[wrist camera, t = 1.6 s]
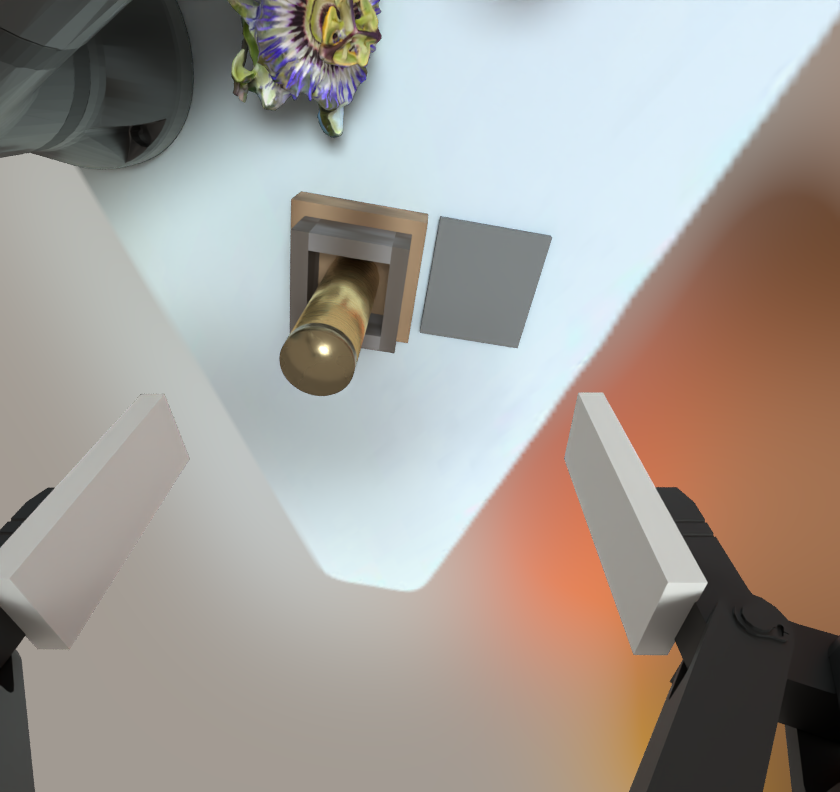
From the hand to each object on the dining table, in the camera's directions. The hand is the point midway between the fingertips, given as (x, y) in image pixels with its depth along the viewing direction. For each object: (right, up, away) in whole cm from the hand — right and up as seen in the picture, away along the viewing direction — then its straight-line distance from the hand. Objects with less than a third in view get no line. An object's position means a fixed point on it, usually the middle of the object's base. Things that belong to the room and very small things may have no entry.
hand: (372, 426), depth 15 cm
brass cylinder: (-4, +10, +21) cm, 24 cm away
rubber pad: (+7, +10, +25) cm, 28 cm away
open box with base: (-4, +12, +24) cm, 27 cm away
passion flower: (-6, +26, +15) cm, 31 cm away
